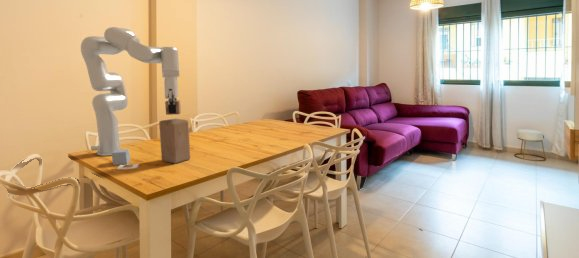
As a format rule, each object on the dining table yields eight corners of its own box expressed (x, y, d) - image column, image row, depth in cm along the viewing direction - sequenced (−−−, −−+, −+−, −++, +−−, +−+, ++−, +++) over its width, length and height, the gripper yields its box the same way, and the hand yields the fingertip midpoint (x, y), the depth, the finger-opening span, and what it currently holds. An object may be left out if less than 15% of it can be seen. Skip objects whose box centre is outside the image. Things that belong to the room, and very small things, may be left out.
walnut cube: (166, 114, 151) (165, 101, 150) (167, 113, 157) (167, 100, 156) (179, 114, 152) (178, 101, 151) (180, 112, 158) (180, 100, 157)
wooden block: (174, 164, 152) (171, 122, 148) (161, 161, 157) (158, 120, 154) (191, 159, 160) (189, 119, 157) (177, 156, 166) (175, 118, 162)
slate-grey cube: (113, 165, 151) (111, 152, 150) (116, 161, 157) (115, 149, 156) (126, 164, 152) (125, 152, 151) (130, 161, 158) (129, 149, 157)
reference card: (117, 169, 144) (117, 167, 144) (120, 166, 149) (120, 164, 149) (136, 168, 146) (136, 166, 146) (139, 165, 151) (138, 163, 150)
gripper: (165, 73, 159) (167, 110, 162) (159, 74, 142) (162, 114, 145) (181, 73, 160) (183, 109, 163) (177, 74, 144) (179, 114, 147)
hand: (173, 111), depth 154 cm, fingers closed on walnut cube, 6 cm apart
